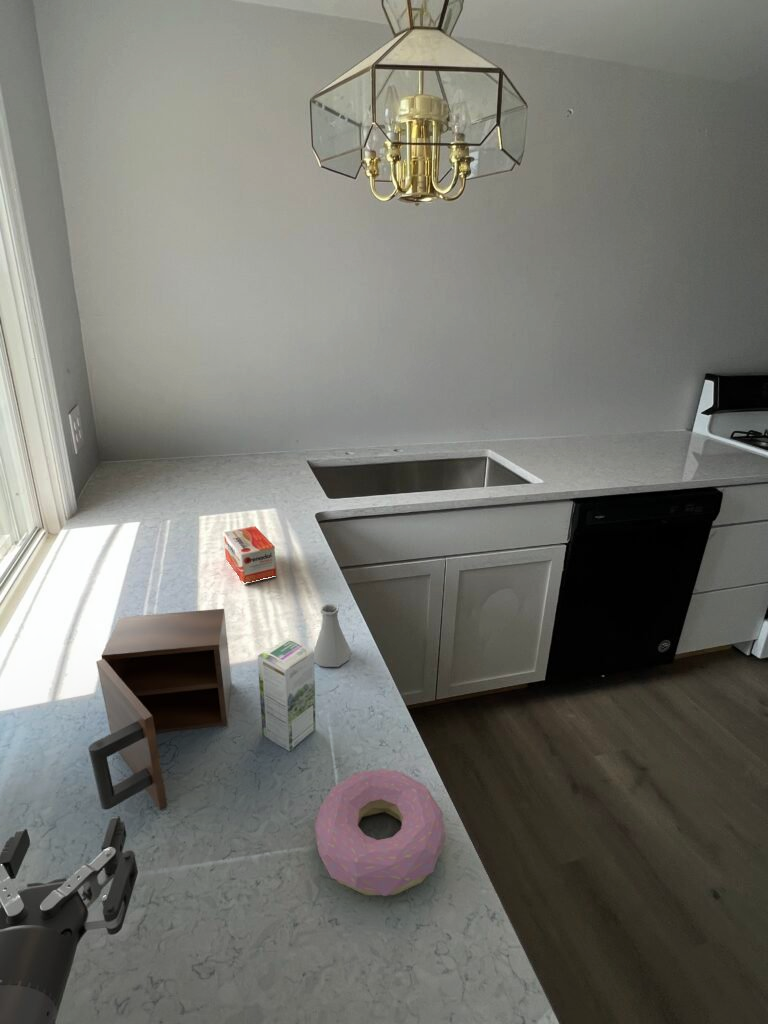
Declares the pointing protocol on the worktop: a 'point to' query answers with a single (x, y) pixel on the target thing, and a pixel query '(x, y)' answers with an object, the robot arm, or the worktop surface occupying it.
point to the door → (126, 744)
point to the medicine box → (250, 554)
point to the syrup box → (287, 693)
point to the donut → (383, 860)
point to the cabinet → (175, 667)
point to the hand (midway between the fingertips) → (71, 828)
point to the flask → (331, 640)
